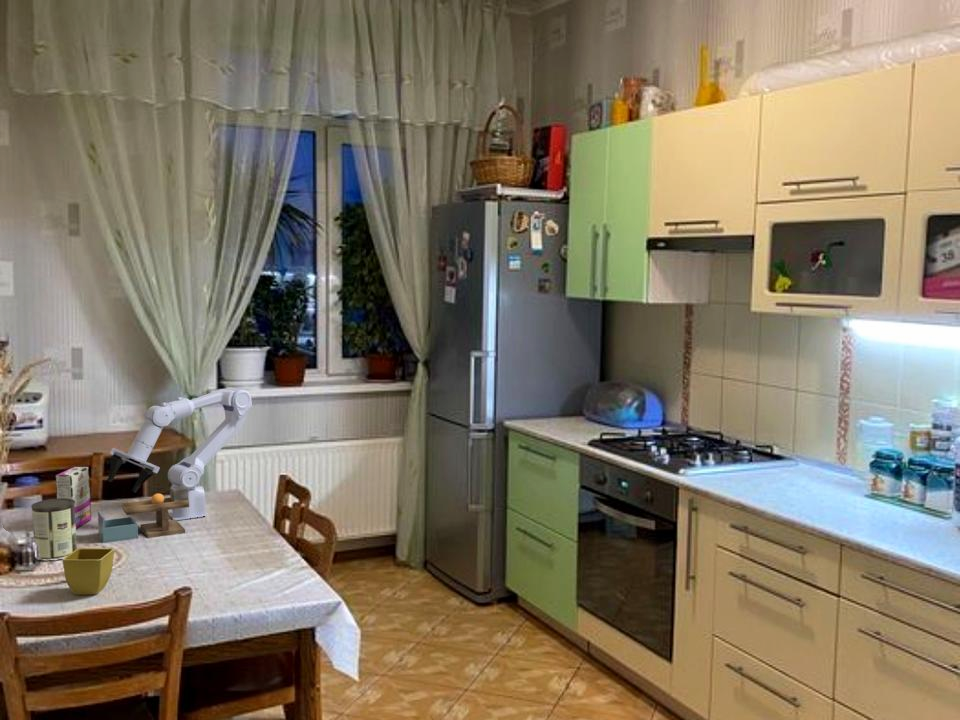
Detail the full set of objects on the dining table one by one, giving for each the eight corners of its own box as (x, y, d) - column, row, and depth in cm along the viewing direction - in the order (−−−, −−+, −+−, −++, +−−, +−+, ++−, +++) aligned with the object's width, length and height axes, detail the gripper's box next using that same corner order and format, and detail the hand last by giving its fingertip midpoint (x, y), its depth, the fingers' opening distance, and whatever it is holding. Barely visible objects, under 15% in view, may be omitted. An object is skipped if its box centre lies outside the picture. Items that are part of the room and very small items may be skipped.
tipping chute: (179, 498, 267) (179, 481, 267) (189, 507, 257) (188, 489, 256) (119, 505, 259) (118, 488, 258) (126, 515, 248) (126, 496, 248)
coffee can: (53, 548, 240) (51, 496, 238) (85, 551, 237) (83, 499, 236) (24, 559, 230) (22, 506, 228) (57, 563, 227) (55, 509, 226)
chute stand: (175, 522, 264) (174, 497, 264) (185, 532, 254) (184, 506, 253) (140, 527, 259) (139, 502, 259) (148, 537, 249) (147, 511, 248)
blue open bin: (132, 530, 257) (131, 506, 256) (138, 537, 249) (137, 513, 248) (98, 534, 252) (97, 510, 251) (103, 542, 244) (102, 517, 244)
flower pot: (116, 584, 211) (115, 547, 210) (102, 598, 202) (100, 559, 201) (79, 585, 210) (77, 548, 210) (63, 598, 202) (61, 559, 201)
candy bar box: (75, 520, 268) (73, 466, 266) (92, 520, 268) (89, 466, 266) (57, 530, 257) (54, 474, 255) (74, 530, 256) (71, 474, 255)
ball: (163, 503, 258) (162, 491, 258) (165, 506, 255) (165, 494, 255) (150, 505, 256) (150, 493, 256) (152, 507, 253) (152, 495, 253)
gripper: (117, 432, 258) (94, 475, 254) (163, 451, 258) (141, 495, 254) (123, 435, 264) (101, 478, 261) (168, 454, 265) (147, 497, 261)
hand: (121, 486), depth 258 cm, fingers open, 7 cm apart
